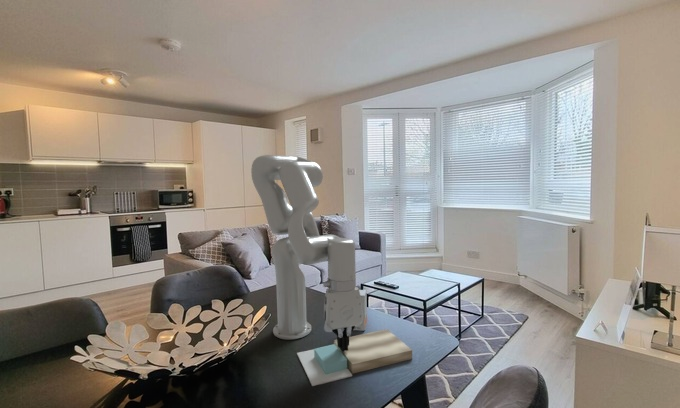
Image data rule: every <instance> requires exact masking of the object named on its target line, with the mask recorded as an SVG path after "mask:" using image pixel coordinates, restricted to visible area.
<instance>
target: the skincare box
mask: <svg viewBox="0 0 680 408" xmlns="http://www.w3.org/2000/svg"><path fill="white" fill-rule="evenodd" d="M359 292H360V297H361V303H362V313H363V320H362V323H361V325H360V326H358V327H355V328H354V329H353V331H360V332H361V331H363V332H364V331H366V327H367V324H368V322H367V321H368V318H367V315H368V311H367V307H368V306H367V304H368V303H367V298H368V297H367V290H366V289H359Z"/></svg>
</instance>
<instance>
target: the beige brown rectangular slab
mask: <svg viewBox="0 0 680 408" xmlns="http://www.w3.org/2000/svg"><path fill="white" fill-rule="evenodd" d="M333 344H334V345H335V346H336V347H337V348H338V349H339V351H340V352H341V353H342V354H343V356H344V357H345V358H346V359H347V368H348V370H349V371H350V372H351V374H352V375H353V374H357V373H360V372H361V373H362V372H365V371H370V370H373V369H376V368H382V367H386V366H389V365H393V364H397V363H401V362H405V361H410V360H412V359H413V349H412V348H410V347H409V346H408V345H407V344H406V343H405V342H403V341H402V340H401V339H400V338H399V337H398V336H396V335H395V334H394V333H393V332H392V331H390V330H389V329H382V330H377V331H376V330H375V331H372V332H367V333H362V334H361V333H360V334H357V335H353V336H349V346H348V351H346V350H345V351H343V352H342V350H341V349H340V348H339V347H338V346H337V339H333Z"/></svg>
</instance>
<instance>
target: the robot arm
mask: <svg viewBox="0 0 680 408" xmlns="http://www.w3.org/2000/svg"><path fill="white" fill-rule="evenodd" d="M250 170H251V181H252V183H253V186H254V187H255V190H256V192H257V193H258V196H259V198H260V200H261V203H262V206H263V210H264V214H265V217H266V220H267V224H268V227H269V230H270V232H271V233H272V234H273V235H277V236H283V235H285V236H286V235H287V236H286V237H282V238H279V239H277V240H276V241H275V242H274V243H273V245H272V248H271V255H272V260H273V265H274V270H275V283H276V284H275V285H276V309H277V311H276V312H277V314H276V315H277V324H275V326H274V327H273V329H272V333H273V335H274V336H275V337H277V338H279V339H282V340H297V339H301V338H304V337H306V336H308V335H309V334H310V333H311V331H312V324H310V323H309V322H308V321H307V295H306V294H307V293H306V292H307V291H306V290H307V289H306V286H307V285H306V277H305V273H303V271H302V270H301V268H300V265H304V266H305V265H306V266H311V265H312V266H313V265H315V264H320V263H323V262H327V274H328V275H327V280H326V281H323V284H322V285H323V288H326V290H325V295H324V300H323V301H324V302H323V321H324V326H323V330H324V331H325V332H326V333H334V334H335V335H336V340H337V346H338V347H339V348H340V349H341V350H342V352H343V351H345V350H346V351H348V346H349V337H351V335H352V331H354V330H353V329H354V328H355V327H358V326H360V325H361V323H362V320H363V313H362V303H361V297H360V292H359V290H360V288H359V287H358V286H356V285H357V281H356V279H357V277H356V272H357V271H356V244H355V241H354V240H353V239H351V238H347V237H346V238H345V237H340V236H338V235H336V234H330V233H329V234H322V235H320V233H319V232H320V231H319V229H318V226H317V223H316V220H315V217H314V215H313V211H314V210H316V209H317V207H319V204H320V200H319V198H318V195H317V194H316V191H315V187H319V186H320V185H321V184H322V181H323V178H324V173H323V171H322V168H321V167H320V165H319V164H318V163H317V162H315V161H312V160H310V159H309V160H308V159H307V158H303V157H299V156H296V155H282V154H281V155H280V154H264V155H260V156H257V157H256V158H255V159H254V160H253V161H252V164H251V169H250ZM276 181H280V182H281V184H282V187H281V186H280V185H279V184H278V183H277V182H276Z"/></svg>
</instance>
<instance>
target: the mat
mask: <svg viewBox="0 0 680 408" xmlns="http://www.w3.org/2000/svg"><path fill="white" fill-rule="evenodd" d="M314 349H315V348H313V349H308V350H304V351H299V352H296V356H297V357H298V359H299V361H300V363H301V365H302V368H303V369H304V372H305V374H306V375H307V378H308V380H309V383H310V384H311V387H314V386H318V385H319V386H320V385H323V384H327V383H331V382H335V381H339V380H344V379H346V378H351V377H353V374H352V372H351V371H350V370H349V368H348V367H347V369H345V370H341V371H337V372H333V373H330V374H325V373H324V371H323V370H322V368H321V367H320V365H319V364H318V362H317V360H316V359H315V357H314Z"/></svg>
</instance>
